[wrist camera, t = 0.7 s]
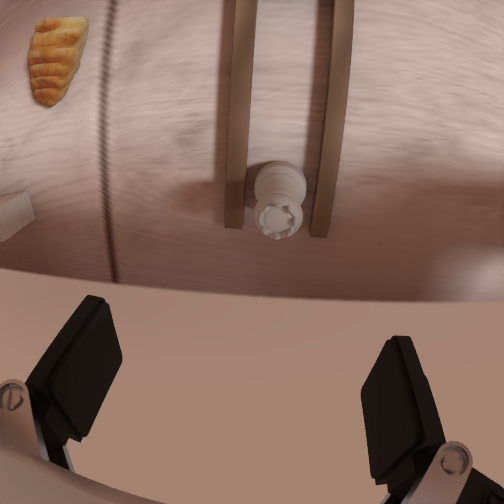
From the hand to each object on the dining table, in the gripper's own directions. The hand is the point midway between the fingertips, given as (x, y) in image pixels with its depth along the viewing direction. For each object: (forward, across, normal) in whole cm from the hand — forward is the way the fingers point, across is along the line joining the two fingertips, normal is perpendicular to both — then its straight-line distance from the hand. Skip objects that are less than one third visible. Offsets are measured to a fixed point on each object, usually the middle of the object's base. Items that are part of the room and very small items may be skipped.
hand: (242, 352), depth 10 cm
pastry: (+20, +21, -12) cm, 31 cm away
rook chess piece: (+19, -1, 0) cm, 19 cm away
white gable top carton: (+20, +31, +5) cm, 37 cm away
